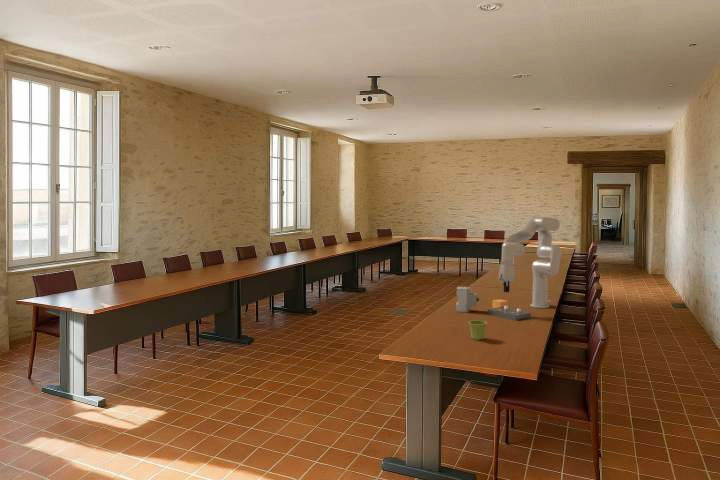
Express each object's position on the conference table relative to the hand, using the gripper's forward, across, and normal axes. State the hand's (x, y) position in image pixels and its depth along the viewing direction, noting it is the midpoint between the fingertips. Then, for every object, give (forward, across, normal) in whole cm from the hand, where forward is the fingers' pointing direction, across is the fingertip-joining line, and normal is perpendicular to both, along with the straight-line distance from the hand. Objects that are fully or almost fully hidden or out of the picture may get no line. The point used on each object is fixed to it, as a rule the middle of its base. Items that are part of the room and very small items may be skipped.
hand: (506, 291), depth 345 cm
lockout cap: (+14, -10, -13) cm, 21 cm away
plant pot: (+15, +58, +32) cm, 68 cm away
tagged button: (+13, -1, 0) cm, 13 cm away
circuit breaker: (+15, +13, -20) cm, 28 cm away
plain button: (+13, 0, +10) cm, 16 cm away
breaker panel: (+14, +2, +4) cm, 15 cm away
